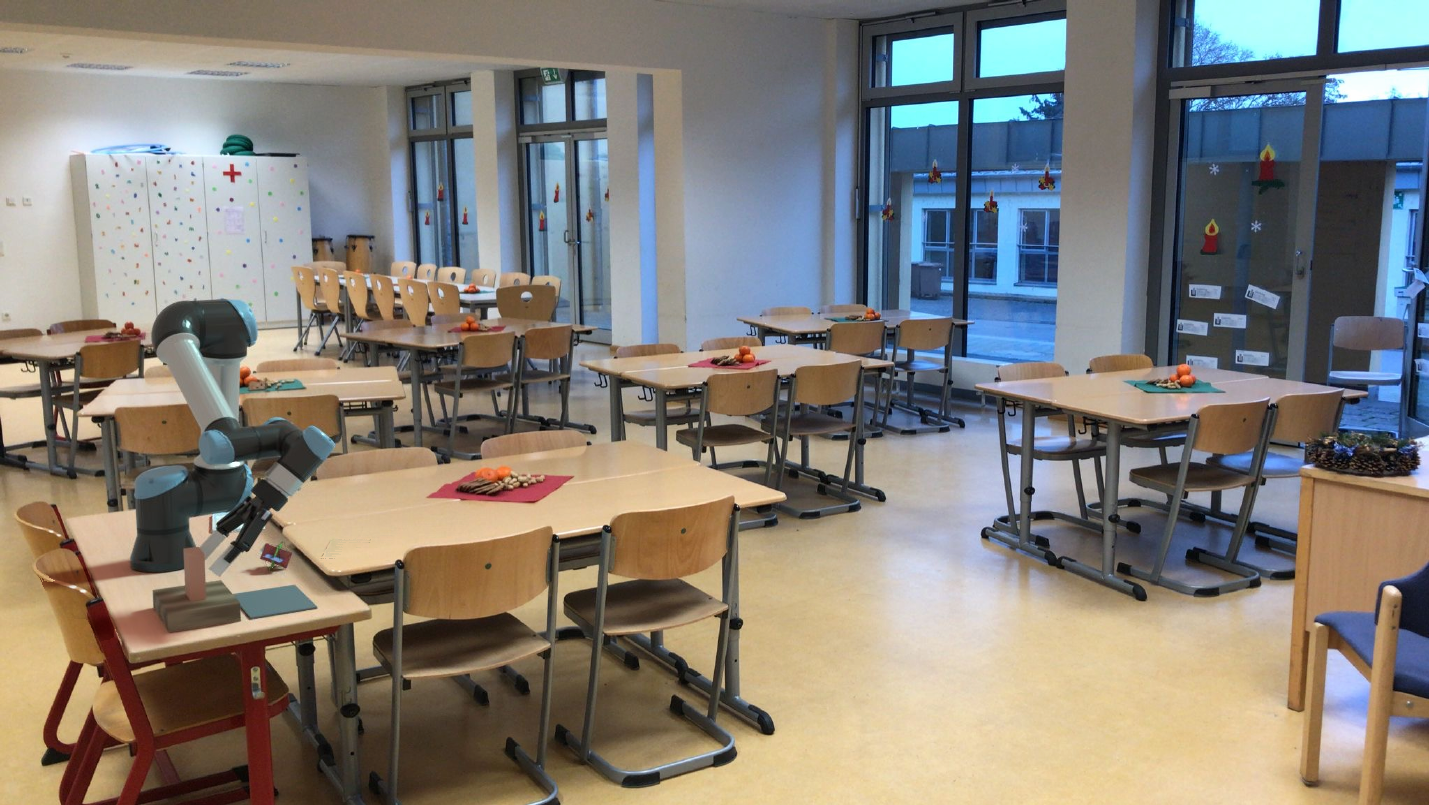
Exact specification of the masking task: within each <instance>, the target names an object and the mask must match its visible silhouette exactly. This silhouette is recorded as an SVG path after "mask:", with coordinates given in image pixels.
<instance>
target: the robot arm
mask: <svg viewBox="0 0 1429 805" xmlns="http://www.w3.org/2000/svg"><path fill="white" fill-rule="evenodd" d="M255 317H256V316H255V314H254V313H253V310H252V308H251V307H250V305H248V304H247V303H246V302H245V301H243V300H241V299H229V298H228V299H227V298H222V299H221V298H218V299H200V300H197V299H196V300H180V301H175V302H173V303H171V304H169V305H167V306H166V307H164V308H162V310H161V311H160V312H159V314H158V315H156V318H155V320H154V321H153V323H152V328H151V332H150V333H151V334H150V337H151V338H150V339H151V345H152V348H153V352H154V354H155V355H156V357H157V359H158V360H159V361H160V362H161V363H163V364H166V365H167V368H168V370H169V371H170V373H171V376H172V377H173V379H174V380H175V383H176V385H177V386H178V388H179V390H180V392H181V394H182V396H183V398H184V399H185V401H186V404H187V406H188V407H189V409H190V411H191V413H192V415H193V417H194V419H195V420H196V422H197V424H198V426H199V428H200V436H199V440H198V450H199V452H200V453H199V454H198V455H197V456H196V457H195V458H194V459H193V468H192V469H190V470H188V468H187V467H186V466H184V465H179V464H174V465H173V464H172V465H169V466H168V465H163V466H159V467H154V468H151V469H148V470H146V471H144V472H141V473H140V474H139V475H138V476H136V478H135V480H134V493H133V497H134V501H135V502H134V503H135V504H134V506H135V519H136V520H135V521H136V523H135V524H136V537H135V541H134V544H133V547H132V550H131V554H130V557H129V558H130V559H129V561H130V562H129V564H130V568H131V569H132V570H134V571H138V572H143V573H144V572H145V573H163V572H172V571H177V570H183V569H184V551H183V549H185V548H192V547H197V545H196V543H195V541H194V538H193V536H192V533H191V528H190V519H191V518H197V517H204V516H208V515H209V516H210V515H212V514H217V513H223V512H224V513H227V512H229V513H228V514H227V515H225V516H224V517H223V518H222V519H221V520H219V521H218V522H217V523H216V525H217V527H216V530H215V531H214V532H213V533H212V532H211V534H210V535H209V536H208V537H207V539H205V541H203V543H202V544H201V545H200V546H198V547H199V548H200V549H201V550H202V551H203V553H204V557H205V561H206V560H208V558H209V557H210V556H211V555H212V554H213V552H215V550H217V548H218V547H219V546H220V545H221V544H222V543H223V542H224V541H225V540H226V538H229V536H230V534H231V533H232V532H231V531H233V530H234V529H236V528H238V527H239V526H241V525H242V524H243V526H242V528H241V530H240V532H238V534H237V537H236V538H235V540H233V541H231V542H230V543H229V544H230V545H228V547H227V548H226V549H225V550H224V551H223V552H222V553H221V554H220V555H219V557H217V559H216V560H215V561H214V562H213V563H212V564H211V565H210V567H209V568H208V570H209V571H211V572H212V573H213V574H214V575H215V576H217V577H219V578H220V577H221V576H222V575H223V574H224V573H225V572H226V571H227V569H228V568H229V567H230V566H232V564H233V563H234V562H235V561H236V559H237V558H238V557H239V556H240V555H241V554H242V553H244V552H245V553H248V552H249V551H250V550H251V549H252V547H253V545H254V544H255V542H256V541H257V540H258V537H259V536H260V534H261V533H262V532H263V531H264V530H263V528H264V527H265V528H266V525H267V524H268V523H269V521H270V520H271V518H273V516H274V515H273V513H272V512H270V510H271V509H272V510H273V511H275V512H279V511H281V510H282V508H283V507H285V505H286V504H287V503H288V502H289V498H291V497H293V496H294V495H295V494H296V492H299V491H301V490H302V486H303V485H304V484H305V483H306V482H307V481H308V479H310V478H311V476H312V475H313V474H314V473H315V472H316V471H317V469H319V468H320V466H322V465H323V464H324V462H325V461H326V460H327V458H328V457H329V456H330V455H331V454H332V452H333V451H334V449H335V447H336V444H335V442H334V441H333V440H332V438H331V437H329V436H328V434H326V433H325V432H323V431H322V430H321V429H320V428H318V427H316V426H314V425H309V426H307V428H305V429H304V430H303V429H301V428H300V427H298V425H296V424H294V422H291V421H289V420H287V419H285V418H283V417H279V416H276V417H275V416H274V417H271V418H270V419H269V418H268V420H266V421H264V422H263V424H262V425H261V424H260V425H251V426H250V425H249V426H241V425H240V423H239V419H240V418H239V417H240V416H239V414H240V413H239V412H240V410H239V409H240V381H241V380H240V379H241V376H240V375H241V362H242V361H243V360H245V359H246V357H247V356H248V348H251V347H252V346H254V345H255V344H256V342H257V340H258V336H259V333H258V325H257V321H256V320H257V319H256V318H255ZM278 457H279V458H278ZM271 458H272V459H273V458H278V460H277V461H275V462H274V463H273V465H272V466H270V468H269V469H268V470H267V471H266V472H265V473H264V474H263V476H264V478H262V479H261V478H260V479H259V480H258V481H257V482H256V483H255V484H254V478H253V477H252V475H253V473H252V470H251V468H250V467H249V466H248V465H247V464H246V463H245V462H247V461H248V462H249V461H254V460H255V461H256V460H263V459H264V460H265V459H271ZM252 495H254V497H252ZM230 532H231V533H230Z"/></svg>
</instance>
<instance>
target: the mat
mask: <svg viewBox="0 0 1429 805" xmlns="http://www.w3.org/2000/svg"><path fill="white" fill-rule="evenodd" d="M232 594H233V595H234V596H235V597H236V598H237V600H238V601H239V602H240V609H241V610H242V611H243V612H244V614H246V616H247V617H248V618H249V619H250V620H255V619H261V618H266V617H275V616H279V615H280V616H281V615H287V614H292V613H299V612H304V611H310V610H316V609H318V605H316V604H315V602H313V601H312V600H311V599H310V598H309V596H307V595H306V594H305V593H304V592H303V591H302V590H301V589H300V588H299V587H298V586H297V585H296V584H290V585H282V586H277V587H271V588H270V587H269V588H265V589H256V590H251V591H243V592H237V593H232Z"/></svg>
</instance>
